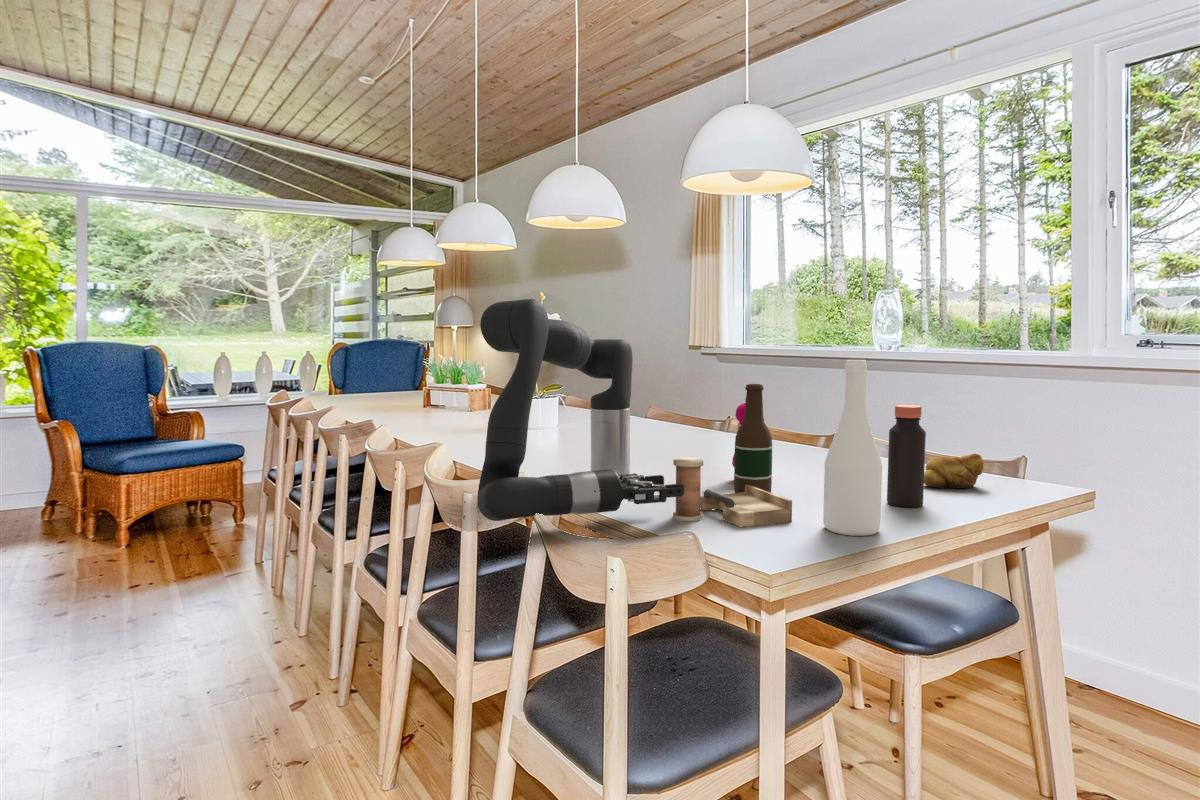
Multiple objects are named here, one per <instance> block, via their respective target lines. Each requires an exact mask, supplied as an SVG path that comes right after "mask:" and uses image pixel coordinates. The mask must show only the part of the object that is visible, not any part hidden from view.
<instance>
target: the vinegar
mask: <svg viewBox="0 0 1200 800" xmlns="http://www.w3.org/2000/svg"><path fill="white" fill-rule="evenodd" d="M921 418H922V406H921V405H914V404H913V405H912V404H910V405H909V404H898V405H895V406H894V419H895V420H896V421H895V424H894V425H893V426H892V427H891V428H890V429H889V431H888V451H887V452H888V453H887V455H888V457H887V461H888V462H887V484H886V485H887V486H886V487H887V488H886V502H887V504H889V505H891V506H893V507H899V508H906V507H907V508H908V509H910V508H912V509H914V508H920V507H922V506H923V504H924V488H925V487H924V486H925V484H924V472H925V466H926V465H925V464H926V463H925V461H926V460H925V459H926V435H927V434H926V431H925V429H924V428H923V427H922V426H921V425H920V421H921V420H922V419H921ZM907 508H906V509H907Z"/></svg>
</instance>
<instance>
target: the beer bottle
mask: <svg viewBox="0 0 1200 800" xmlns="http://www.w3.org/2000/svg"><path fill="white" fill-rule="evenodd" d="M745 390H746V395H745V398H746V402H745V403H746V407H745V417H744V422H743V424H742V425H741V426H740V428H739V429H737V432H736V435H735V438H734V439H735V440H734V453H735V465H734V467H733V468H734V471H733V472H734V474H733V477H734V478H733V481H734V483H733V487H734V488H733V489H734V492H733V493H743V492H745V485H751V486H753V487H756V488H759V489H762V490H765V491H767V492H770V493H772V485H773V484H772V482H773V481H772V480H773V479H772V478H773V473H772V472H773V437H772V434H771V431H770V428H769V427H768V426H767V424H766V423H765V417H764V403H763V391H764V390H765V389H764V385H763V384H760V383H749V384H746V386H745Z"/></svg>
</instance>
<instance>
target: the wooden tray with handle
mask: <svg viewBox="0 0 1200 800" xmlns="http://www.w3.org/2000/svg"><path fill="white" fill-rule="evenodd" d="M700 508H701V509H700V510H702V509H703V510H702V511H704V510H710V511H713V510H712V509H720V510H722V511H723V512H722V511H721V512H722V520H723V519H725V520H727V521H729V522H731V523H730V524H732V523H733V524H732V525H734V524H735V525H734V526H736V525H737V526H736V527H738V526H739V527H738V528H744V527H743V526H747V527H754V526H755V525H757V526H766V525H773V524H783V523H791V522H792V521H793V518H792V517H793V500H792V499H790V498H787V497H785V496H781V495H779V494H775V493H773V492H771V493H770V492H767V491H765V490H762V489H759V488H756V487H753V486H751V485H745V492H743V493H734V492H733V493H732V492H731V493H724V494H723V493H722V494H721V493H717V492H716V491H712V490H710V489H705V490H704V491H703V495H700ZM720 510H719V511H720ZM725 520H724V521H725ZM727 521H726V522H727ZM729 522H728V523H729Z"/></svg>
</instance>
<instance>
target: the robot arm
mask: <svg viewBox="0 0 1200 800" xmlns="http://www.w3.org/2000/svg"><path fill="white" fill-rule="evenodd" d="M479 322H480V323H479V326H480V332H481V334H482V337H483V339H484V341H485V342H486V344H487V345H488V346H489V347H491V349H493V350H495V351H497V352H500V353H516V354H518V357H517V360H516V361H517V362H516V364H515V367H514V370H513V372H512V373H511V377H510V378H509V380H508V382H507V383H506V385H505V387H504V388H503V390H502V391H501V393H500V394H499V395H498V398H497V399H496V400H495V402H494V405H493V406H492V409H491V411H490V414H489V417H488V421H487V430H486V439H485V449H484V451H485V452H484V454H485V455H484V461H483V464H482V470H481V474H480V477H479V478H480V479H479V483H478V489H477V497H476V498H477V500H476V501H477V502H476V503H477V507H478V510H479V511H480V513H481V515H483V517H484V518H486V519H487V520H490V521H492V522H500V521H507V520H512V519H519V518H527V517H535V516H536V515H535V514H536V513H539V514H543V515H544V517H546V516H547V517H548V516H550V517H551V516H562V515H588V514H600V513H607V512H608V513H609V512H616V511H618V510H619V509H620V507H621V504H622V501H624V500H627V502H629V503H630V502H631V503H634V504H635V505H641V504H653V503H654V504H656V503H666V502H667V498H669V499H670V498H676V497H680V496H683V495H684V485H682V484H676V483H673V484H672V483H671V484H665V476H664V475H662V474H657V475H655V474H654V475H646V476H645V475H643V474H639V475H638V473H630V472H631V471H630V470H631V469H630V468H631V429H630V428H631V421H630V420H631V412H630V411H631V408H630V407H631V398H632V397H631V396H632V379H633V378H632V377H633V376H632V375H633V361H634V360H633V357H634V356H633V350H632V347H631V344H630V342H629V341H628V340H626V339H615V338H612V339H610V338H609V339H608V338H607V339H606V338H604V339H603V338H602V339H601V338H599V339H591V338H590V336H589V334H588V333H587V331H586V330H585V329H584V328H582V327H580V326H579V325H576V324H573V323H571V322H569V321H565V320H562V319H555V318H554V319H553V318H549V316H548V312H547V309H546V307H545V306H544V304H543V303H542V302H541V301H539V300H537V299H535V298H534V299H532V298H529V299H528V298H527V299H526V298H525V299H517V300H516V299H515V300H504V301H503V300H502V301H497V302H495V303H493V304H491V305H489V306H488V307H487V308H485V310H484V311H483V313H482V314H481V318H480V321H479ZM543 362H546V363H549V364H550V365H555V366H558V367H561V368H566V369H572V370H577V371H579V372H581V373H583V374H584V375H586V376H588V377H590V378H594V379H599V380H600V379H601V380H602V379H605V380H611V384H610V386H609V387H608V388H607V389H606V390H604V391H602V392H598V393H595V394H593V395H592V396H591V397H590V470H588V471H586V470H585V471H576V472H575V471H574V472H572V473H565V474H552V475H550V474H549V475H545V476H544V475H543V476H538V477H535V476H534V477H533V476H531V477H530V476H519V475H520V469H521V466H522V464H523V463H524V460H525V457H526V451H527V441H528V430H529V421H530V413H531V408H532V401H533V399H534V395H535V390H536V386H537V383H538V379H539V376H540V372H541V367H542V363H543ZM655 492H656V493H657V492H658V495H657V494H655ZM543 515H542V516H543Z"/></svg>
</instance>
